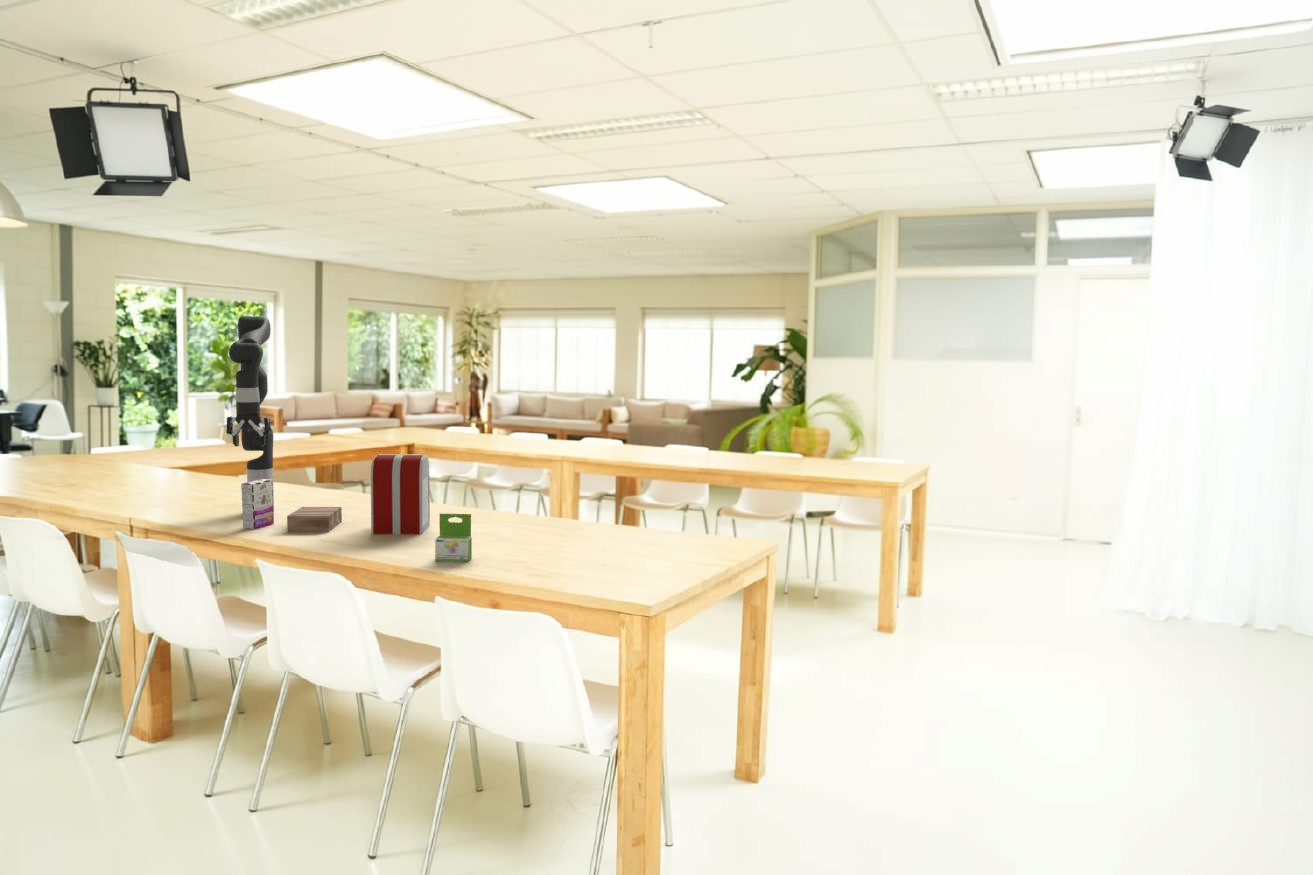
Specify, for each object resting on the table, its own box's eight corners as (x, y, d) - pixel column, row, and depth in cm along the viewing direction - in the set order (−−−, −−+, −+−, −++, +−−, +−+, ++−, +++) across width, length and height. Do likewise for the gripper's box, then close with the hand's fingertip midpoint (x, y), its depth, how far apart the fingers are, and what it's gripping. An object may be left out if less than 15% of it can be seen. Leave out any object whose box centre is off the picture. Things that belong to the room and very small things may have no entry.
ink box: (434, 561, 265) (434, 516, 263) (438, 557, 270) (438, 513, 269) (468, 562, 265) (468, 517, 263) (472, 558, 270) (471, 513, 269)
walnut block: (302, 523, 320) (302, 506, 319) (341, 522, 322) (341, 506, 321) (287, 533, 302) (287, 516, 302) (329, 532, 304) (328, 516, 303)
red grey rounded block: (381, 524, 318) (380, 451, 315) (430, 524, 319) (429, 452, 317) (370, 534, 301) (369, 457, 299) (422, 534, 303) (421, 457, 300)
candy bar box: (262, 523, 317) (261, 478, 315) (274, 523, 316) (273, 479, 314) (241, 529, 306) (240, 482, 304) (254, 529, 305) (253, 483, 303)
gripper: (272, 399, 308) (274, 445, 310) (230, 399, 306) (232, 444, 308) (265, 401, 300) (266, 448, 302) (222, 401, 299) (224, 447, 301)
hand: (249, 446), depth 305 cm, fingers open, 8 cm apart
